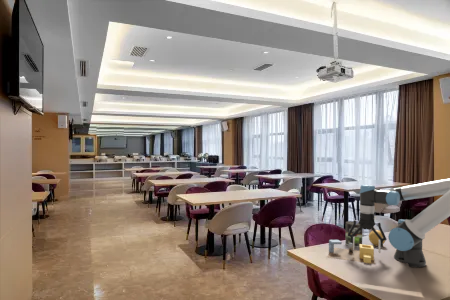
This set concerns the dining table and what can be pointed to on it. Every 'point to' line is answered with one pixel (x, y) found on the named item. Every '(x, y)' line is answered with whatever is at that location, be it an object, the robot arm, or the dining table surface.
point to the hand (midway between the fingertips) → (366, 250)
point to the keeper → (331, 245)
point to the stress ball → (375, 238)
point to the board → (347, 255)
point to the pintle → (350, 247)
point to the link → (366, 253)
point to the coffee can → (357, 237)
